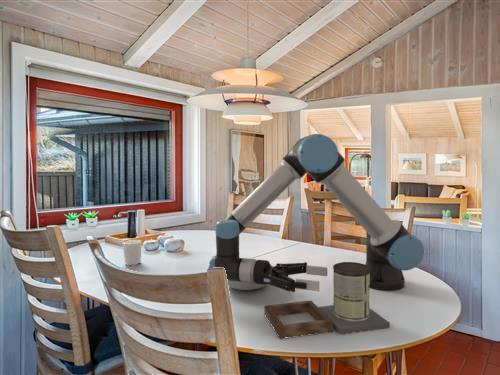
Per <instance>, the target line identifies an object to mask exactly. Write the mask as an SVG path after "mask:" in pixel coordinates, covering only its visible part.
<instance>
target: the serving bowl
mask: <svg viewBox="0 0 500 375" xmlns="http://www.w3.org/2000/svg"><path fill="white" fill-rule="evenodd" d="M270 265H271V266H272V267H274V266H273V264H272V263H270ZM228 285H229V288H231V289H233V290H239V291H252V290H253V291H254V290H257V289H261V288H264V287H265V286H267V285H268V284H266V285H262V284H256V283H255V282H254V283H249V284H247V283H246V282H239V281H228Z"/></svg>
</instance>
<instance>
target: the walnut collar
mask: <svg viewBox="0 0 500 375" xmlns="http://www.w3.org/2000/svg"><path fill="white" fill-rule="evenodd" d="M319 307H320V306H318V305H316V303H315V302H313V300H302V301H292V302H286V303H285V302H284V303H277V304H275V303H274V304H268V305H267V304H266V305H264V308H263V309H264V313H263V314H264V316H265V315H266V317H267V318H268V320H269V321H270V323H271V324H272V326H273V327H274V329H275V331H276V332H277V334H278V335H279V337H280V338H285V337H292V338H294V337H293V336H300V337H302V336H301V335H307V336H309V335H308V334H314V335H316V334H315V333H321V334H323V333H322V332H328V333H331V332H330V331H333V332H334V329H333V321H332V320H331V319H330V318H329V317H328V316H327V315H326V314H325V313H324V312H323V311H322V310H321V309H320V308H319ZM297 313H298V314H304V313H309V315H310V316H313V317H314V318H315V319H316V320H317V321H316V320H315V319H314V318H313V317H312V318H313V319H314V320H313V321H304V322H296V323H287V324H284V323H283V321H281V319H280V317H279V316H277V315H282V316H287V315H286V314H290V315H296V314H297ZM266 317H265V318H266ZM267 318H266V319H267ZM268 320H267V321H268ZM269 321H268V322H269ZM270 323H269V324H270ZM271 324H270V325H271ZM272 326H271V327H272ZM273 327H272V328H273ZM274 329H273V330H274ZM275 331H274V332H275ZM276 332H275V333H276ZM277 334H276V335H277ZM278 335H277V336H278ZM279 337H278V338H279ZM280 338H279V339H280ZM285 339H286V338H285Z"/></svg>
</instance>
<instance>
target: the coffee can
mask: <svg viewBox="0 0 500 375" xmlns="http://www.w3.org/2000/svg"><path fill="white" fill-rule="evenodd" d="M365 264H366V263H361V262H355V261H354V262H353V261H341V262H338V263H334V264H333V266H332V269H333V305H334V311H333V313H334V315H335V316H336V317H337V318H339V319H342V320H345V321H351V322H359V321H364V320H367V319H368V318H369V316H370V315H369V308H370V289H371V288H370V267H369V266H367V265H365Z"/></svg>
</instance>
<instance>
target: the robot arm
mask: <svg viewBox="0 0 500 375" xmlns="http://www.w3.org/2000/svg"><path fill="white" fill-rule="evenodd" d="M345 164H346V159H345V158H344V157H343V155H342V154H341V153H340V152H339V149H338V146H337V144H336V143H335V141H334V140H333V139H331V138H330V137H329V136H327V135H324V134H320V133H313V134H309V135H307V136H304V137H301V138H300V139H299V140H298V141H296V142H295V144H294V145H293V146H292V147H291V149H290V150H288V152H287V153H286V154H285V156H284V157H282V158H281V163H280V165H279V166H278V167H277V168H276V169H274V170H273V171H272V172H271V173H269V175H268V176H267V177H266V178H265V179H264V180H263V181H262V182H261V183H260V184H259V185H258V186H257V187H256V188H255V189H254V190H253V191H252V192H251V193H250V194H249V195H248V196H247V197H246V198H245V199H244V200H243V201H242V202H241V203H240V204H239V205H237V207H235V209H233V211H232V212H230V214H229V215H228V216H227V217H225V218H224V219H221V220H219V221H217V222H216V223H215V244H216V245H215V246H216V253H215V254H216V255H213V256H212V257H211V258H210V260H209V264H208V269H209V268H213V267H224V268H225V270H226V274H227V279H228V281H239V282H246V283H247V284H249V283H254V282H255V283H256V284H262V285H265V286H267V285H270V286H273V287H275V288H278V289H281V290H283V291H286V292H292V293H294V292H296V290H303V291H309V292H310V291H312V292H319V291H320V281H319V280H312V279H302V278H295V279H294V278H291V277H290V276H292V275H300V274H306V275H309V276H310V275H311V276H320V277H328V266H320V265H319V266H317V265H309V264H308V262H307V261H304V262H295V263H294V262H292V263H291V262H290V263H280V262H279V263H275V264H276V265H274V266H273V267H272V266H271V265H272V264H271V263H270V260H266V259H255V258H245V257H240V235H241V234H242V233H243V232H244V231H245V229H246V228H247V227H248V226H249V225H251V224H252V222H254V220H256V219H257V218H258V217H259V216H260V215H261V214H262V213H263V212H264V211H265V210H266V209H267V208H268V207H269V206H270V205H271V204H272V203H274V201H275V200H277V198H278V197H279V196H281V195H282V193H283V192H285V190H287V189H288V188H289V186H291V185H292V184H293V183H294V182H295V181H296V180H300V179H302V178H303V177H304V176H305V175H306V174H308V176H310V177H311V178H312V179H313V180H314V181H315V183H316V184H323V185H324V186H326V188H327V189H328V190H329V192H330V193H332V194H333V196H334V197H335V198H336V199H337V200H338V202H339V203H340V204H341V205H342V206H343V207H344V208H345V210H347V212H348V213H349V214H350V215H351V216H352V217H353V218H354V219H355V220H356V222H357V223H358V224H359V225H360V226H361V228H362V229H364V231H365V232H366V239H365V240H366V244H365V245H366V248H365V251H366V252H365V253H366V256H365V257H366V260H365V263H364V264H365V265H367V266H369V267H370V289H375V290H382V291H396V290H397V291H398V290H400V289H404V288H405V283H406V280H405V277H404V274H403V271H410V270H412V269H415V268H417V267H418V266H419V265H420V263H421V262H422V261H423V258H424V255H425V247H424V244H423V242H422V241H421V239H419V238H418V237H417V236H416V235H413V234H412V233H411V232H410V231H408V229H407V228H406V227H405V226H404V225H403V223H401V222H400V220H398V219H391V217H390V216H389V215H388V214H387V213H386V211H385V210H384V209H383V208H382V207H381V206H380V205H379V204H378V203H377V202H376V200H375V199H374V198H373V197H372V195H371V194H370V193H369V192H368V191H367V190H366V189H365V188H364V187H363V185H362V184H361V183H360V182H359V180H357V178H356V177H355V176H354V175H353V174H352V173H351V172H350V171H349V170H348V168H347V167H346V165H345ZM270 264H271V265H270ZM266 284H267V285H266Z"/></svg>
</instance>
